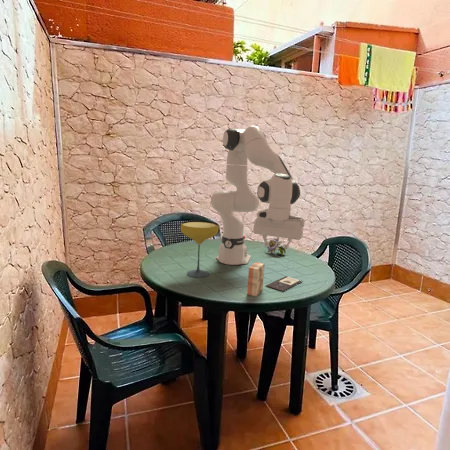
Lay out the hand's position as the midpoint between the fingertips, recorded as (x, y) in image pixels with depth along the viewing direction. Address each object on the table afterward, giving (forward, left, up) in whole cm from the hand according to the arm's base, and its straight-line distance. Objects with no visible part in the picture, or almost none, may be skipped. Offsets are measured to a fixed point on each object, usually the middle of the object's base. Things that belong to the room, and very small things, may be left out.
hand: (276, 247), depth 142 cm
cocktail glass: (-7, -40, -22) cm, 46 cm away
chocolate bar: (-16, +1, -22) cm, 27 cm away
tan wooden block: (0, -8, -21) cm, 23 cm away
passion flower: (-65, -17, -22) cm, 71 cm away
